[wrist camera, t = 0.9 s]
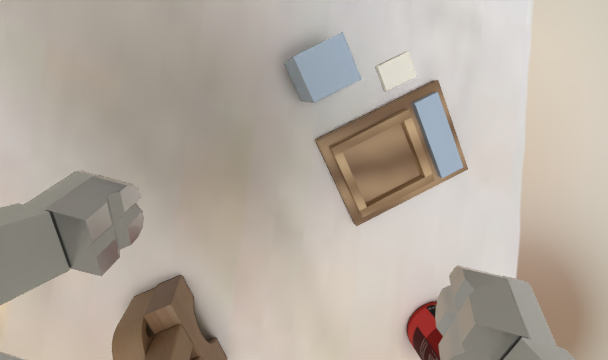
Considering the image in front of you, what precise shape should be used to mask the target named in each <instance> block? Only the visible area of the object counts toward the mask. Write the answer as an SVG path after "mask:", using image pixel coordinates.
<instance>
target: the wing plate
mask: <svg viewBox="0 0 608 360" xmlns="http://www.w3.org/2000/svg"><path fill="white" fill-rule="evenodd" d="M411 105H412V107H413V110H414V113H415V116H416V118H417V121H418V124H419V126H420V129H421V132H422V135H423V137H424V140H425V143H426V145H427V148H428V151H429V154H430V156H431V159H432V162H433V164H434V167H435V170H436V173H437V175H438V177H440V178H444V177H446V176H448V175H450V174H452V173H454V172H455V171H457V170H459V169H461V168H463V164H462V161H461V159H460V156H459V153H458V150H457V147H456V144H455V141H454V138H453V135H452V132H451V129H450V126H449V123H448V120H447V117H446V114H445V112H444V109H443V106H442V103H441V100H440V97H439V94H438V92H432V93H431V94H429V95H427V96H425V97H423V98H421V99H419V100H417V101H415V102H413V103H411Z"/></svg>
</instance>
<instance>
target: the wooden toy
mask: <svg viewBox="0 0 608 360" xmlns="http://www.w3.org/2000/svg"><path fill="white" fill-rule="evenodd" d="M193 302H194V297H193V295H192V293H191V291H190V289H189V288H188V286H187V284H186V282H185V280H184V278H183V277H182V275H180V276H178V277H175V278H173V279H170V280H168V281H166V282H163V283H161V284H159V285H158V286H157V287H156V288H154V289H151V290H149V291H146V292H144V293H142V294H139V295H137V296H135V297H134V298H133V300H132V301H131V303H130V305H129V306H128V308H127V310H126V312H125V313H124V315H123V317H122V318H121V320H120V322H119V324H118V325H117V327H116V330H115V332H114V335H113V340H112V354H113V360H227V357H226V355H225V353H224V352H223V350H222V348H221V346H220V344H219V342H218V341H217V339H216V338H214V339H212V340H209V341H206V340H205V338H204V337H203V336H202V334H201V332H200V329H199V327H198V325H197V321H196V318H195V314H194V306H193Z"/></svg>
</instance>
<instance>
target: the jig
mask: <svg viewBox="0 0 608 360" xmlns="http://www.w3.org/2000/svg"><path fill="white" fill-rule="evenodd" d="M432 92H438V94H439V97H440V100H441V103H442V106H443V109H444V112H445V114H446V117H447V120H448V123H449V126H450V129H451V132H452V135H453V138H454V141H455V144H456V147H457V150H458V153H459V156H460V159H461V161H462V164H463V168H461V169H459V170H457V171H455V172H454V173H452V174H450V175H448V176H446V177H444V178H440V177H438V175H437V173H436V170H435V167H434V164H433V162H432V159H431V156H430V154H429V151H428V148H427V145H426V143H425V140H424V137H423V135H422V132H421V129H420V126H419V124H418V121H417V118H416V116H415V113H414V110H413V107H412V105H411V103H413V102H415V101H417V100H419V99H421V98H423V97H425V96H427V95H429V94H431V93H432ZM315 141H316V143H317V145H318V147H319V149H320V152H321V154H322V156H323V158H324V160H325V162H326V164H327V167H328V169H329V171H330V173H331V175H332V177H333V179H334V182H335V184H336V186H337V188H338V190H339V192H340V195H341V197H342V199H343V201H344V203H345V205H346V207H347V210H348V212H349V214H350V216H351V218H352V220H353V222H354V224H355V225H356V226H358V225H360V224H362V223H364V222H366V221H368V220H370V219H372V218H374V217H376V216H377V215H379V214H381V213H383V212H385V211H387V210H389V209H391V208H393V207H395V206H397V205H399V204H401V203H403V202H405V201H407V200H409V199H411V198H413V197H415V196H417V195H419V194H420V193H422V192H424V191H426V190H428V189H430V188H432V187H434V186H436V185H438V184H440V183H442V182H444V181H446V180H448V179H450V178H452V177H454V176H456V175H458V174H460V173H461V172H463V171H465V170H467V169H468V167H467V164H466V161H465V158H464V156H463V153H462V150H461V147H460V144H459V141H458V138H457V135H456V132H455V129H454V126H453V123H452V120H451V117H450V114H449V111H448V108H447V105H446V102H445V99H444V96H443V93H442V90H441V87H440V84H439V81H438V80H436V81H432V82H430V83H428V84H426V85H424V86H422V87H420V88H418V89H416V90H414V91H412V92H410V93H408V94H406V95H404V96H402V97H400V98H398V99H396V100H394V101H392V102H390V103H388V104H386V105H384V106H382V107H380V108H378V109H376V110H374V111H372V112H370V113H368V114H366V115H364V116H362V117H360V118H358V119H356V120H354V121H352V122H350V123H348V124H346V125H344V126H342V127H340V128H338V129H336V130H334V131H332V132H330V133H328V134H326V135H324V136H322V137H320V138H318V139H316V140H315Z"/></svg>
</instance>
